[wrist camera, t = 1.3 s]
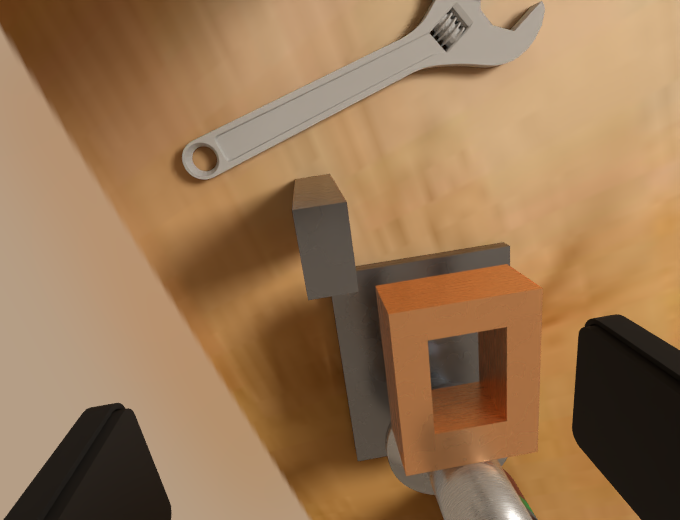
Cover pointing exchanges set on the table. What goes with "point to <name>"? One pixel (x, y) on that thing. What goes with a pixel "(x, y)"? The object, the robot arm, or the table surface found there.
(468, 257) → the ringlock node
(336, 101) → the adjustable wrench
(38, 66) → the table surface
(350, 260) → the grey rectangular block
